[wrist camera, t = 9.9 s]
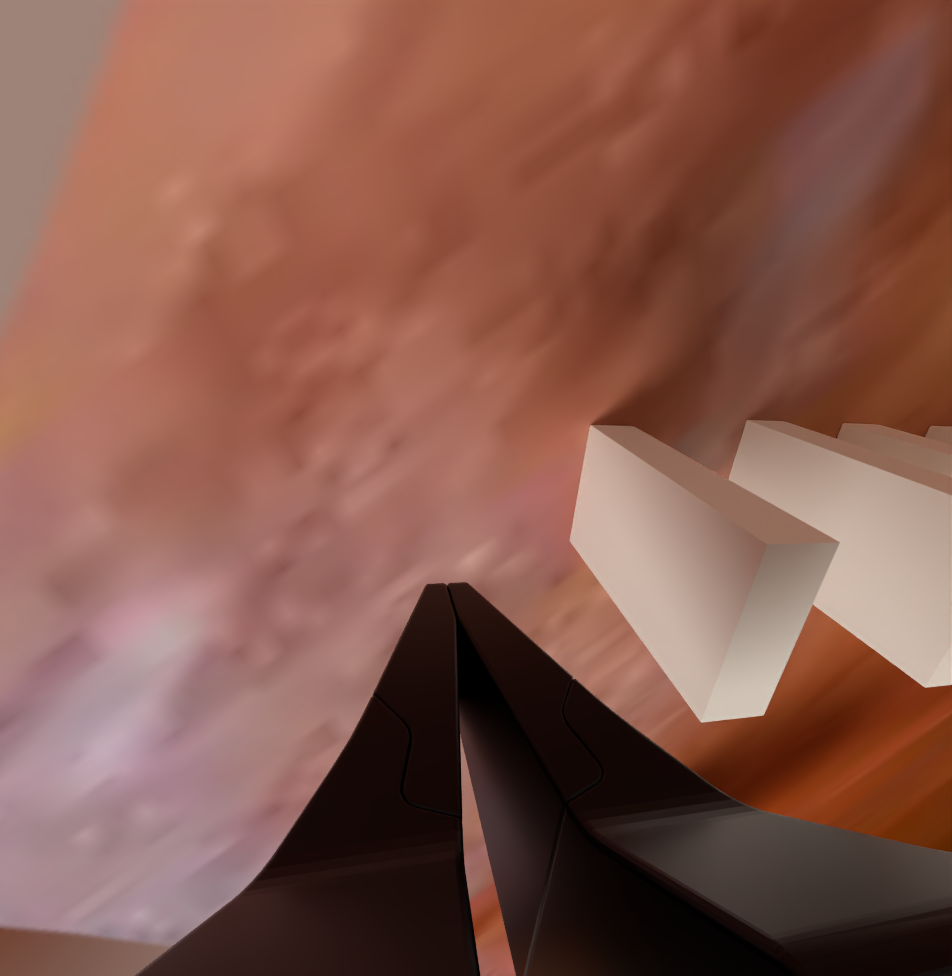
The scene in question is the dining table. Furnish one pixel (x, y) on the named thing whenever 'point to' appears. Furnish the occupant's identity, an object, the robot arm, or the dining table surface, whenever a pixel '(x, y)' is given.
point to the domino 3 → (866, 538)
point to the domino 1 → (697, 568)
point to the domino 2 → (900, 445)
